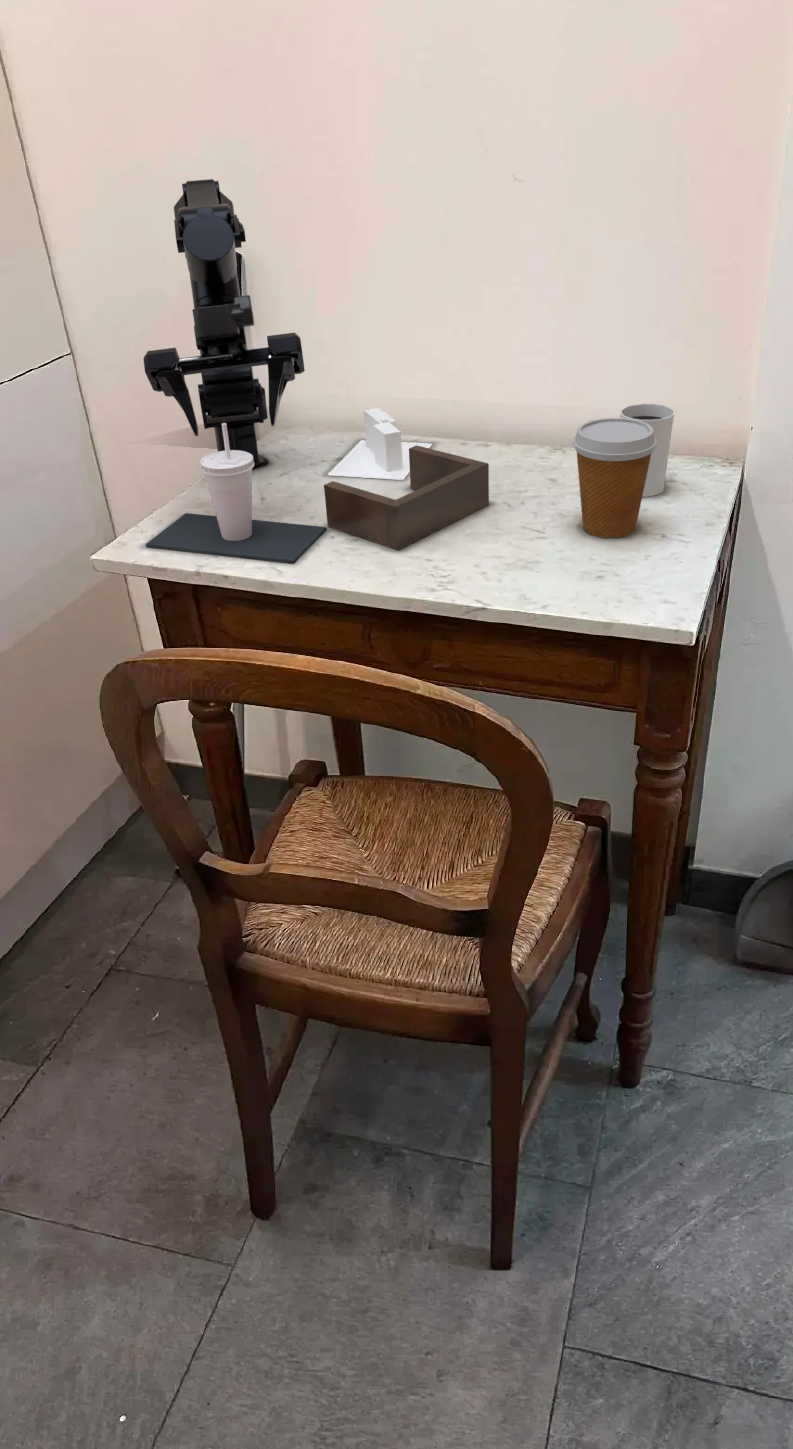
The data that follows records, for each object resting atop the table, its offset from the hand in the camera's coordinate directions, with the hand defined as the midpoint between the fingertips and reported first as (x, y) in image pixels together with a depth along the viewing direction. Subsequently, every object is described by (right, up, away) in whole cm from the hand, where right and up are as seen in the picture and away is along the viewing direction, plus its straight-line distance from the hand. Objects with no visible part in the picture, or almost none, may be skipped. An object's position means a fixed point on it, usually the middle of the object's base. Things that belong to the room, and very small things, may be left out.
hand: (234, 429), depth 127 cm
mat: (0, -12, +4) cm, 13 cm away
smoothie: (0, -12, +4) cm, 13 cm away
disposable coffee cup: (+45, -12, +1) cm, 47 cm away
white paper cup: (+51, -5, +11) cm, 53 cm away
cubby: (+21, -9, +7) cm, 24 cm away
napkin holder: (+17, +3, +25) cm, 31 cm away
